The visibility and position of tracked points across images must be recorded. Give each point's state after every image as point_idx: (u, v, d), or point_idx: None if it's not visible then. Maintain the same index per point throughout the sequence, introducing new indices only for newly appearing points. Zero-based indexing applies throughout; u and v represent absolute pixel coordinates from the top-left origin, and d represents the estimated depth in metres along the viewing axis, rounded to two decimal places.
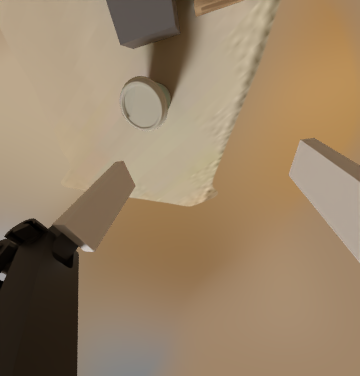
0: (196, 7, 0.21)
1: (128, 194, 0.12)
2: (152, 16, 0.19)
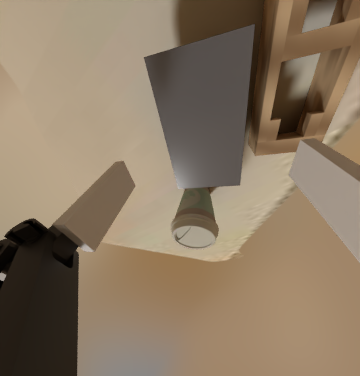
0: None
1: (128, 194, 0.12)
2: (218, 177, 0.19)
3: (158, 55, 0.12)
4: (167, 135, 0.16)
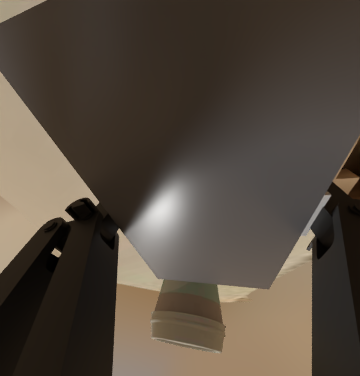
0: None
1: None
2: (228, 277, 0.10)
3: (18, 27, 0.03)
4: (119, 220, 0.07)
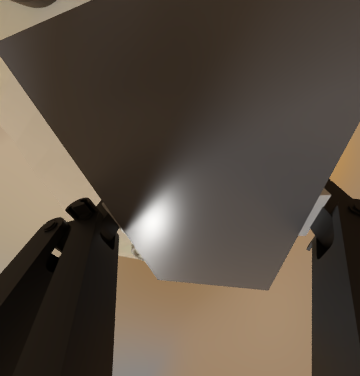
0: None
1: None
2: (228, 278, 0.10)
3: (33, 36, 0.03)
4: (121, 220, 0.07)
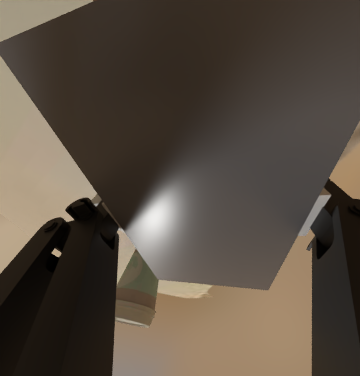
0: None
1: None
2: (228, 278, 0.10)
3: (35, 37, 0.03)
4: (122, 220, 0.07)
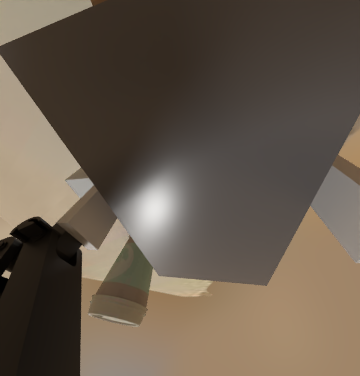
0: None
1: None
2: (227, 274, 0.10)
3: (37, 40, 0.03)
4: (123, 218, 0.08)
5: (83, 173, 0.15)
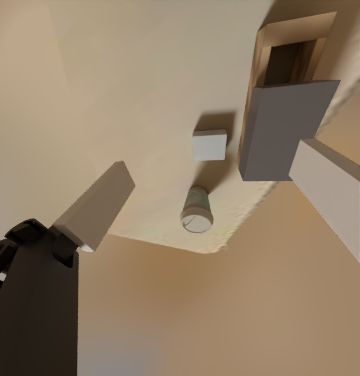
0: None
1: (128, 194, 0.12)
2: (278, 174, 0.26)
3: (273, 88, 0.18)
4: (254, 140, 0.23)
5: (199, 134, 0.30)
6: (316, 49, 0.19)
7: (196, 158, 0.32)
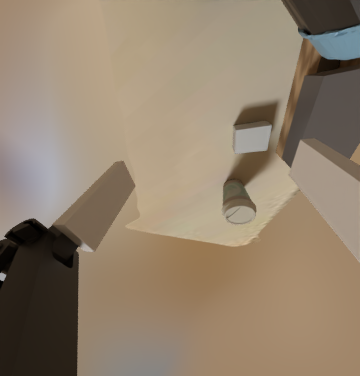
0: None
1: (128, 194, 0.12)
2: None
3: (335, 75, 0.19)
4: (308, 127, 0.23)
5: (242, 127, 0.31)
6: None
7: (238, 151, 0.33)
